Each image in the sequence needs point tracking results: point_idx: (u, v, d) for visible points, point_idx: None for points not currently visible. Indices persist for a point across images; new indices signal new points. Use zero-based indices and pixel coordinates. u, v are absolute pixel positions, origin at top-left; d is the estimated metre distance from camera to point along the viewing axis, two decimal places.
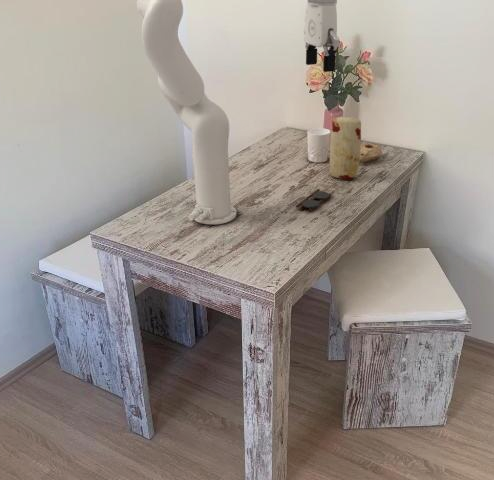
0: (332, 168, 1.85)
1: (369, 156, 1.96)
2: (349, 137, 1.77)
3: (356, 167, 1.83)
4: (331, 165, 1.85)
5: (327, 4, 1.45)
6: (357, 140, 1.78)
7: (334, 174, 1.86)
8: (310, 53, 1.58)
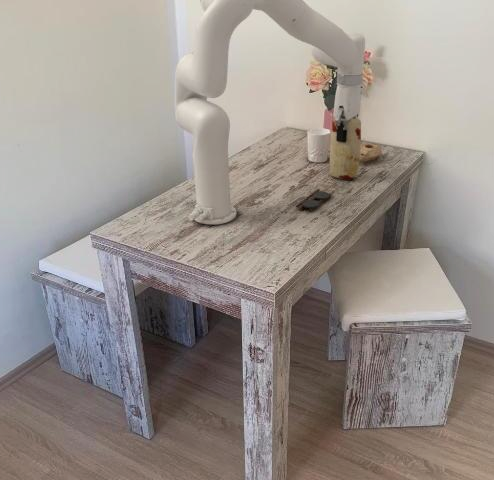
0: (332, 168, 1.85)
1: (369, 156, 1.96)
2: (349, 137, 1.77)
3: (356, 167, 1.83)
4: (331, 165, 1.85)
5: (342, 85, 1.69)
6: (357, 140, 1.78)
7: (334, 174, 1.86)
8: None
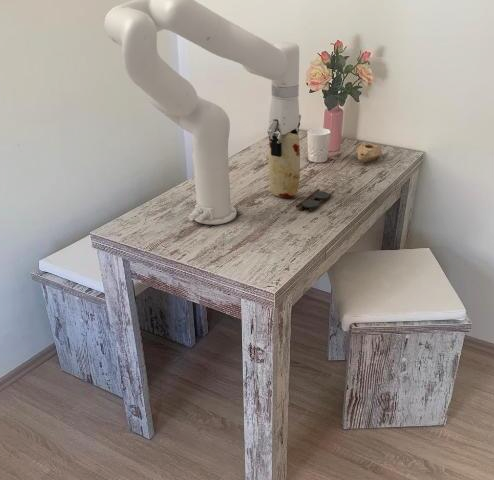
0: (272, 185, 1.73)
1: (369, 156, 1.96)
2: (287, 153, 1.65)
3: (296, 185, 1.71)
4: (270, 182, 1.73)
5: (276, 98, 1.57)
6: (296, 156, 1.66)
7: (274, 192, 1.74)
8: None
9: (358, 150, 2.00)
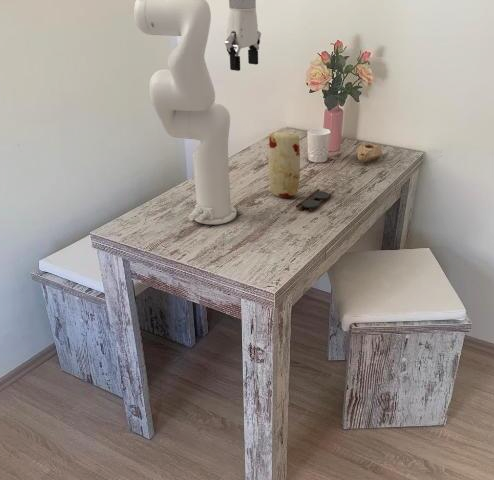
0: (272, 185, 1.73)
1: (369, 156, 1.96)
2: (287, 153, 1.65)
3: (296, 185, 1.71)
4: (270, 182, 1.73)
5: (233, 9, 1.61)
6: (296, 156, 1.66)
7: (274, 192, 1.74)
8: (250, 53, 1.74)
9: (358, 150, 2.00)
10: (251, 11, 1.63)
